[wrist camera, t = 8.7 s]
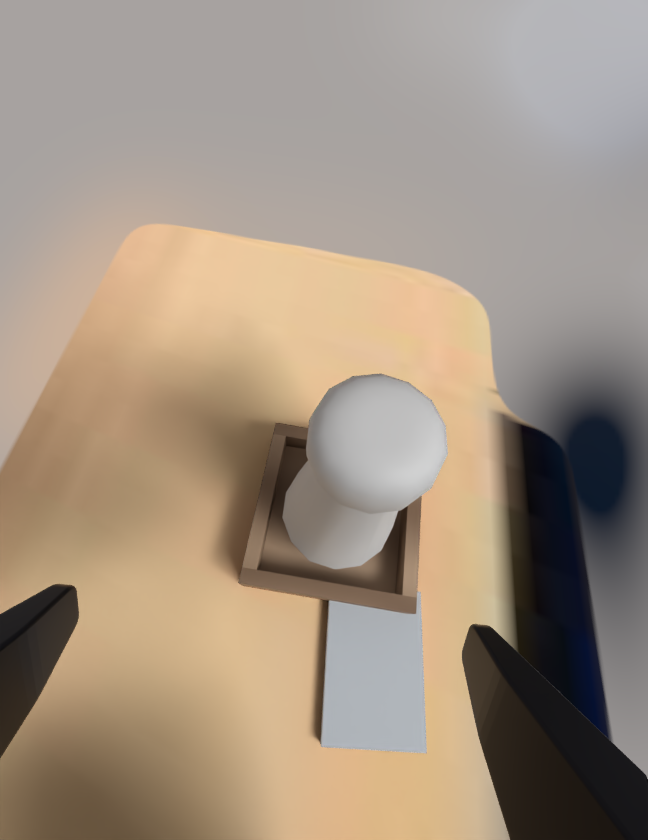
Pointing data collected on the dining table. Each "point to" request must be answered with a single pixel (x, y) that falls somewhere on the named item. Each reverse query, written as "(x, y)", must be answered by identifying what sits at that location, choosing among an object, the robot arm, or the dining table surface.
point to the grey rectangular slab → (373, 680)
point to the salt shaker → (362, 468)
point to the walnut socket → (294, 574)
